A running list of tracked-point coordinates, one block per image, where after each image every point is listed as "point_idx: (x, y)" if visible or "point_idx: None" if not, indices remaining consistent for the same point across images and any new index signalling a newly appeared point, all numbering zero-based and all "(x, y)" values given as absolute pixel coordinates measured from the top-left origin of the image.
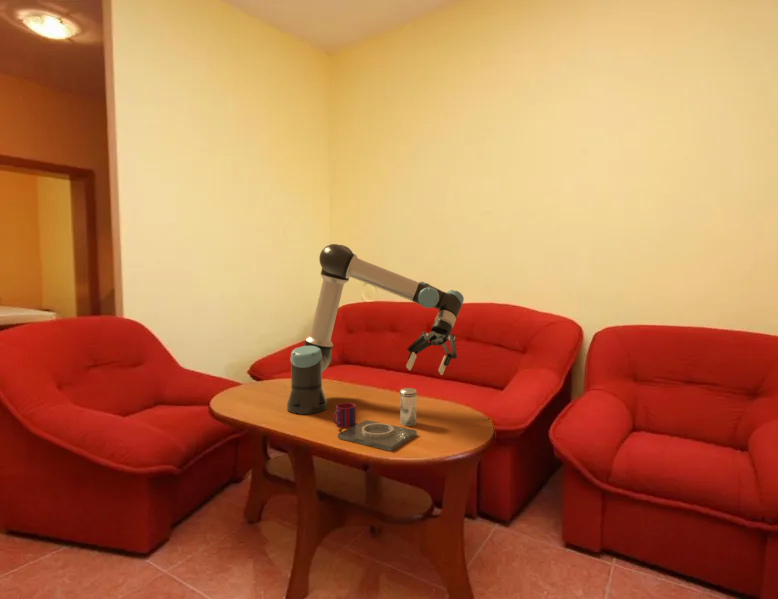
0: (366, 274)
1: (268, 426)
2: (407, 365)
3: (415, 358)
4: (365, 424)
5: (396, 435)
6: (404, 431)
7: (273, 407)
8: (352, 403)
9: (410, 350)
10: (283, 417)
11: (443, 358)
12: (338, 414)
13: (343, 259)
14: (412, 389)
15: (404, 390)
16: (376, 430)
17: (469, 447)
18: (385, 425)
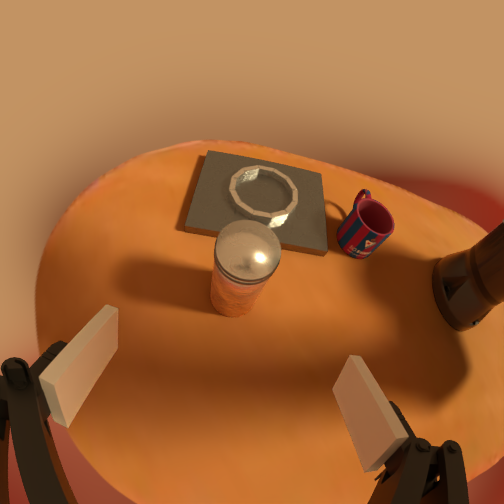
0: None
1: (424, 201)
2: (355, 358)
3: (359, 453)
4: (311, 225)
5: (218, 189)
6: (210, 212)
7: None
8: (376, 233)
9: (432, 453)
10: (442, 239)
11: (65, 362)
12: (368, 209)
13: None
14: (237, 260)
15: (260, 237)
16: (270, 201)
17: (74, 210)
18: (260, 211)
